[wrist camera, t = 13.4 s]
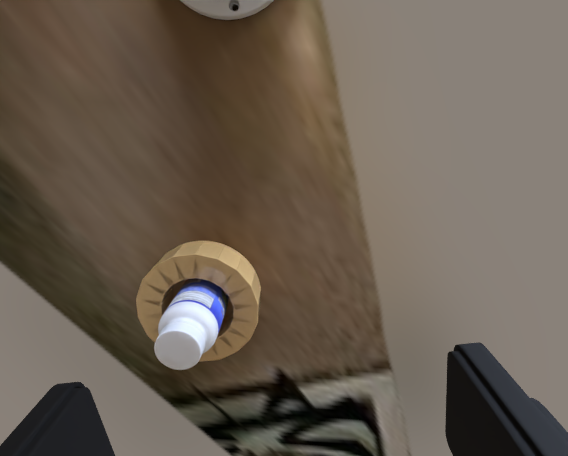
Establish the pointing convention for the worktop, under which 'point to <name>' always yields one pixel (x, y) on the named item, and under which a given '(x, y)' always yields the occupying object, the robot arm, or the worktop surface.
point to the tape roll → (217, 269)
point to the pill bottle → (190, 324)
